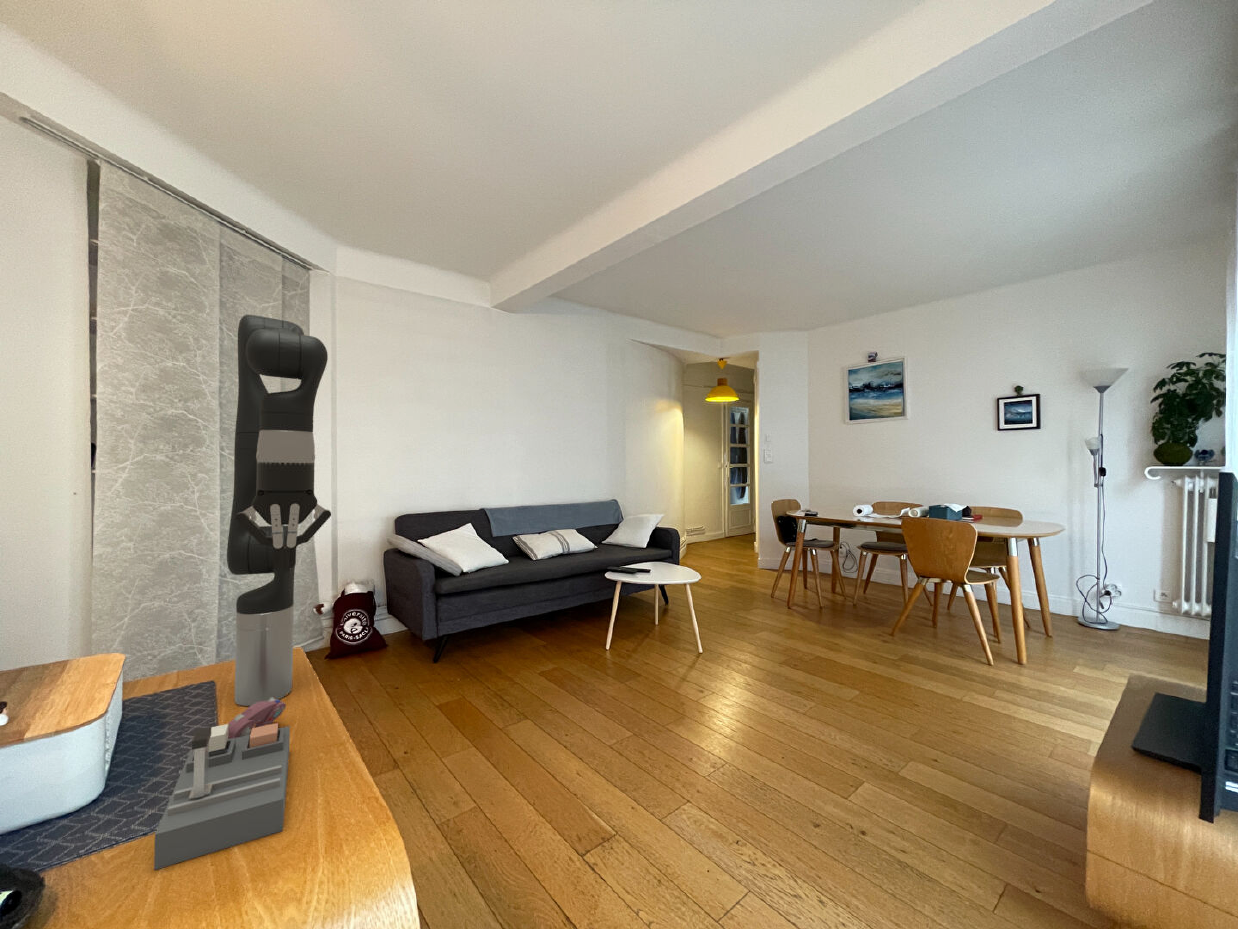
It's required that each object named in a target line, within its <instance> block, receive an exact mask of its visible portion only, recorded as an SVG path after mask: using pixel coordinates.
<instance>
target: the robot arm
mask: <svg viewBox="0 0 1238 929" xmlns="http://www.w3.org/2000/svg"><path fill="white" fill-rule="evenodd" d="M328 355H329V354H328V349H327V348H326V346H325V344H324V342H322V341H321V339H320V338H318V337H317V336H316V337H314V336H312V335H307V334H305V333H304V331H303V329H302V327H301V326H300V325H299V324H297V323H294V322H292V321H288V320H283V319H276V318H272V317H266V316H261V315H260V316H259V315H256V314H255V315H254V314H245V315H243V316H242V317H241V318H240V320H239V324H238V329H237V373H238V374H237V375H238V378H237V379H238V394H237V407H236V409H237V410H236V420H235V432H234V447H233V448H234V450H233V451H234V452H233V453H234V459H233V461H234V463H233V464H234V465H233V467H234V470H233V476H234V477H233V496H232V507H231V514H230V521H229V522H230V523H229V529H228V537H227V548H226V562H227V568H228V570H229V572H230V573H231V574H232V575H235V576H243V575H246V576H247V575H263V574H264V575H265V574H273V576H274V577H273V579H271V581H269V582H267V583H266V584H264V585H262V586H259V587H257V588H254V589H252V590H248V591H245V592H244V593H241V594H240V595H239V596H238V597H237V599H236V603H235V604H236V605H235V606H236V608H235V609H236V610H235V614H236V615H235V617H236V618H235V619H236V620H235V660H234V661H235V663H234V664H235V667H234V668H235V669H234V671H235V672H234V703H235V704H237V705H238V706H239V705H240V706H243V707H244V706H248V707H249V706H251V705H253V704H255V703H257V702H262V701H268V700H269V699H270V698H272V697H273V698H274V699H277V700H280V699H283V698H285V697H286V696H287V695H286V694H287V693H289V692H290V691H291V689H292V690H293V670H294V669H293V666H294V665H293V662H294V661H293V659H294V658H293V656H294V602H295V601H294V599H295V598H294V595H295V594H294V593H295V592H294V591H295V568H296V562H297V547H298V546H299V545H302V544H305V543H308V542H309V541H310V540H311V539H312V537H314V535H316V533H317V532H318V531H319V530H320V529H321V527H323V526H324V524H325V523H326V522H327V521H328V520H329V519H330V517H331V516H332V512H331V511H330V509H326V508H324V507H323V506H321V505H319V504H318V498H317V497H316V495H315V461H316V454H315V453H316V452H315V451H316V447H315V440H314V439H315V438H314V415H315V414H314V411H315V402H316V397H317V393H318V389H319V386H320V384H321V380H322V377H323V375H324V372H325V370H326V367H327V363H328V361H329V360H328V359H329V358H328ZM260 375H261V376H265V377H273V378H282V379H283V378H284V379H292V380H299V381H300V384H299V385H298V386H297V387H296V388H295V389H292V390H287V391H285V390H284V391H275V392H269V391H268V390H267V387H266V386H265V384H264V382H263V379H262V377H261V376H260ZM313 511H314V512H313ZM256 512H257V514H258V515H259V516H260V517H261V518H262V519H263V520H264V521H265V523H266V524H268V525H267V526H265V525H263V526H261V525H259V524H257V523H256V522H255V521H257V519H258V518H257V515H256ZM312 512H313V522H312V523H311V524H310V525H309V526H308V527H307V528H306V529H305V531H304V532H302V534H299V535H298V530H299V529H298V528H299V525H300V524H302V523H303V522H304V521H305V520H306V519H307V518H308V516H309V515H311V513H312ZM291 692H292V691H291ZM291 692H290V693H291ZM290 693H289V694H290ZM285 695H286V696H285ZM284 696H285V697H284ZM282 697H283V698H282Z"/></svg>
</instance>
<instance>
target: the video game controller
mask: <svg viewBox="0 0 1238 929" xmlns="http://www.w3.org/2000/svg"><path fill="white" fill-rule="evenodd" d="M286 706H287V704H286V703H285V702H283V701H282V700H280V699H278V700H277V699H274V698H273V697H272V698H270V699H269V700H268V701H262V702H257V703H255V704H253V705H251V706H248V707H247V708H246V709H245V710H243V711H242V712H241V713H239V714H237V715H236V716H235V717H234V718H233V719H231V720H230V721H229V722H228V723H227V724H228V739H232V738H238V737H242V736H246V735H250V734H251V731H252V728H256V727H261V726H265V725H270V724H273V722H275V721H276V719H278V718H279V717H280V716H281V715H282V713H283V712H284V711H285V709H286Z"/></svg>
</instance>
